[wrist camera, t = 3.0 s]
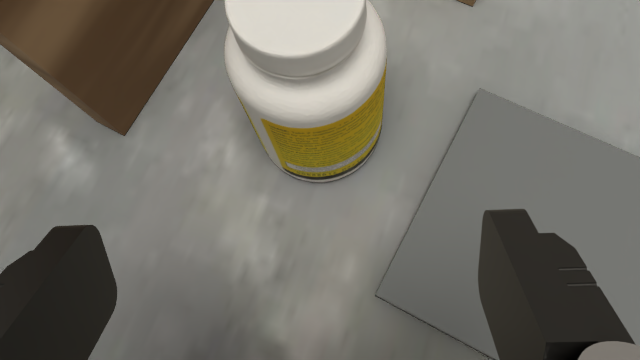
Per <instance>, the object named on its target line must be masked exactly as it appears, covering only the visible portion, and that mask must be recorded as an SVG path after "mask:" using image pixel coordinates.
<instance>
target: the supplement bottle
mask: <svg viewBox="0 0 640 360" xmlns="http://www.w3.org/2000/svg"><path fill="white" fill-rule="evenodd" d="M225 11H226V16H227V19H228V22H229V25H230V26H229V29H228V32H227V35H226V40H225V48H224V57H225V65H226V70H227V73H228V76H229V79H230V82H231V84H232V86H233V88H234V90H235V92H236V94H237V96H238V98H239V100H240V102H241V104H242V106H243V108H244V110H245V112H246V113H247V116H248V118H249V120H250V122H251V124H252V126H253V128H254V130H255V132H256V134H257V135H258V137H259V139H260V141H261V143H262V145H263V147H264V149H265V151H266V152H267V154H268V156H269V157H270V158H271V160H272V161H273V162H274V163H275V164H276V165H277V166H278V167H279V168H280V169H281V170H283V171H284V172H285V173H287V174H289V175H291V176H293V177H295V178H298V179H301V180H305V181H310V182H328V181H333V180H337V179H340V178H342V177H345V176H347V175H349V174H351V173H353V172H354V171H356V170H357V169H358V168H359V167H361V166H362V165H363V164H364V163H365V162H366V160H367V159H368V158H369V157H370V155H371V154H372V152H373V151H374V149H375V147H376V145H377V142H378V139H379V136H380V132H381V127H382V114H383V103H384V88H385V75H386V62H387V49H386V36H385V31H384V28H383V24H382V22H381V19H380V17H379V15H378V13H377V12H376V10H375V9H374V7H373V6H372V4H371V3H370V2H369V1H368V0H225Z"/></svg>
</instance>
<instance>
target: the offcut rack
mask: <svg viewBox="0 0 640 360" xmlns="http://www.w3.org/2000/svg"><path fill="white" fill-rule="evenodd" d="M458 1H460V2H463V3H465V4H468V5H470V6H473V5H474V3H475V1H476V0H458ZM212 2H213V0H0V44H1V45H2V46H3V47H4V48H6V49H7V50H8V51H9V52H11V53H12V54H13V55H14V56H16V57H17V58H18V59H19V60H21V61H22V62H23V63H24V64H26V65H27V66H28V67H29V68H31V69H32V70H33V71H34V72H36V73H37V74H38V75H39V76H41V77H42V78H43V79H44V80H46V81H47V82H48V83H49V84H51V85H52V86H53V87H54V88H56V89H57V90H58V91H59V92H61V93H62V94H63V95H64V96H66V97H67V98H68V99H69V100H71V101H72V102H73V103H74V104H76V105H77V106H78V107H79V108H81V109H82V110H83V111H84V112H86V113H87V114H88V115H89V116H91V117H92V118H93V119H94V120H96V121H97V122H99V123H101V124H103V125H104V126H106V127H108V128H110V129H112V130H114V131H116V132H118V133H120V134H122V135H123V136H125V134H126V133H127V131H128V130H129V128H130V127H131V125H132V123H133V122H134V120H135V119H136V117H137V116H138V114H139V113H140V111H141V110H142V108H143V107H144V105H145V104H146V102H147V101H148V99H149V98H150V96H151V95H152V93H153V92H154V90H155V89H156V87H157V85H158V84H159V82H160V81H161V79H162V78H163V76H164V75H165V73H166V72H167V70H168V69H169V67H170V66H171V64H172V63H173V61H174V60H175V58H176V57H177V55H178V54H179V52H180V51H181V49H182V48H183V46H184V44H185V43H186V41H187V40H188V38H189V37H190V35H191V34H192V32H193V31H194V29H195V28H196V26H197V25H198V23H199V22H200V20H201V19H202V17H203V16H204V14H205V13H206V11H207V10H208V8H209V6H210V5H211V3H212Z"/></svg>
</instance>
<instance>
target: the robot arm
mask: <svg viewBox="0 0 640 360" xmlns="http://www.w3.org/2000/svg"><path fill="white" fill-rule="evenodd" d="M478 287H479V294H480V300H481V303H482V307H483V310H484V313H485V316H486V319H487V322H488V325H489V328H490V331H491V335H492V338H493V341H494V344H495V347H496V350H497V353H498V356H499V359H500V360H640V346H638V345H636V344H635V342H634V341H633V339H632V338H631V336H630V334H629V333H628V331H627V330H626V328H625V327H624V325H623V323H622V322H621V320H620V319H619V317H618V315H617V314H616V312H615V311H614V309H613V307H612V306H611V304H610V303H609V301H608V299H607V298H606V296H605V295H604V293H603V291H602V290H601V288H600V287H599V286H597V282H596V280H595V279H594V277H593V276H592V274H591V272H590V271H587V266H586V264H585V263H584V261H583V260H582V258H581V256H580V255H579V253H578V252H577V250H576V249H575V248H574V247H573V246H572V245H570V244H569V243H568V242H566V241H565V240H564V239H562V238H561V237H559V236H558V235H557V234H555V233H538V231H537V229H536V227H535V225H534V224H533V222H532V220H531V218H530V216H529V214H528V213H527V211H526V210H525V209H501V210H486V211H485V212H484V214H483V220H482V231H481V243H480V255H479V267H478ZM116 300H117V286H116V282H115V278H114V275H113V272H112V269H111V266H110V263H109V260H108V257H107V254H106V251H105V247H104V244H103V241H102V238H101V235H100V233H99V231H98V229H97V228H96V227H95V226H93V225H74V226H56V227H54V228H53V229H51V230H50V232H49V233H48V234H47V235H46V236H45V238H44V239H43V240H42V241H41V242H40V243H39V245H38V246H37V247H36V248H35V249H34V250H33V251H29V252H28V253H26V254H25V255H23V256H22V257H21V258H19V259H18V260H16V261H15V262H13V263H12V264H10V265H9V266H7V267H6V269H5V270H4V271H3V272H2V273H1V274H0V360H88V358H89V356H90V354H91V352H92V350H93V349H94V347H95V345H96V343H97V341H98V339H99V338H100V336H101V334H102V332H103V330H104V328H105V326H106V325H107V323H108V321H109V319H110V317H111V315H112V314H113V311H114V309H115V305H116Z"/></svg>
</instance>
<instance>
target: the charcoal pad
mask: <svg viewBox="0 0 640 360" xmlns="http://www.w3.org/2000/svg"><path fill="white" fill-rule="evenodd" d="M501 209H525V210H526V211H527V213H528V214H529V216H530V218H531V220H532V222H533V224H534V225H535V227H536V229H537V231H538V233H555V234H557V235H558V236H559V237H561V238H562V239H564V240H565V241H566V242H568V243H569V244H570V245H572V246H573V247H574V248H575V249H576V250H577V252H578V253H579V255H580V256H581V258H582V260H583V261H584V263H585V264H586V266H587V271H590V272H591V274H592V276H593V277H594V279H595V280H596V282H597V286H599V287H600V288H601V290H602V291H603V293H604V295H605V296H606V298H607V299H608V301H609V303H610V304H611V306H612V307H613V309H614V311H615V312H616V314H617V315H618V317H619V319H620V320H621V322H622V323H623V325H624V327H625V328H626V330H627V331H628V333H629V334H630V336H631V338H632V339H633V341H634V342H635V344H636V345H638V346H640V157H638V156H635V155H633V154H631V153H629V152H626V151H624V150H622V149H619V148H617V147H615V146H612V145H610V144H608V143H605V142H603V141H601V140H599V139H596V138H594V137H592V136H589V135H587V134H585V133H582V132H580V131H578V130H575V129H573V128H571V127H569V126H566V125H564V124H562V123H559V122H557V121H555V120H552V119H550V118H548V117H545V116H543V115H541V114H539V113H536V112H534V111H532V110H529V109H527V108H525V107H522V106H520V105H518V104H515V103H513V102H511V101H509V100H506V99H504V98H502V97H499V96H497V95H495V94H492V93H490V92H488V91H485V90H483V89H481V88H480V89H479V91H478V93H477V95H476V97H475V99H474V100H473V102H472V104H471V106H470V108H469V110H468V112H467V114H466V116H465V118H464V120H463V122H462V124H461V126H460V128H459V130H458V132H457V134H456V136H455V138H454V140H453V142H452V144H451V146H450V148H449V150H448V152H447V154H446V156H445V158H444V160H443V162H442V164H441V166H440V168H439V170H438V172H437V174H436V176H435V178H434V180H433V182H432V184H431V185H430V187H429V189H428V191H427V193H426V195H425V197H424V199H423V201H422V203H421V205H420V207H419V209H418V211H417V213H416V215H415V217H414V219H413V221H412V223H411V225H410V227H409V229H408V231H407V233H406V235H405V237H404V239H403V241H402V243H401V245H400V247H399V249H398V251H397V253H396V255H395V257H394V259H393V261H392V263H391V265H390V267H389V269H388V270H387V272H386V274H385V276H384V278H383V280H382V282H381V284H380V286H379V288H378V290H377V292H376V294H375V296H377V297H378V298H380V299H382V300H384V301H386V302H388V303H390V304H392V305H393V306H395V307H397V308H399V309H401V310H403V311H405V312H406V313H408V314H410V315H412V316H414V317H416V318H418V319H419V320H421V321H423V322H425V323H427V324H429V325H431V326H432V327H434V328H436V329H438V330H440V331H442V332H444V333H445V334H447V335H449V336H451V337H453V338H455V339H457V340H458V341H460V342H462V343H464V344H466V345H468V346H470V347H471V348H473V349H475V350H477V351H479V352H481V353H483V354H484V355H486V356H488V357H490V358H492V359H494V360H500V359H499V356H498V353H497V350H496V347H495V344H494V341H493V338H492V335H491V331H490V328H489V325H488V322H487V319H486V316H485V313H484V310H483V307H482V303H481V300H480V294H479V287H478V267H479V255H480V243H481V231H482V220H483V214H484V212H485V211H486V210H501Z"/></svg>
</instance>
